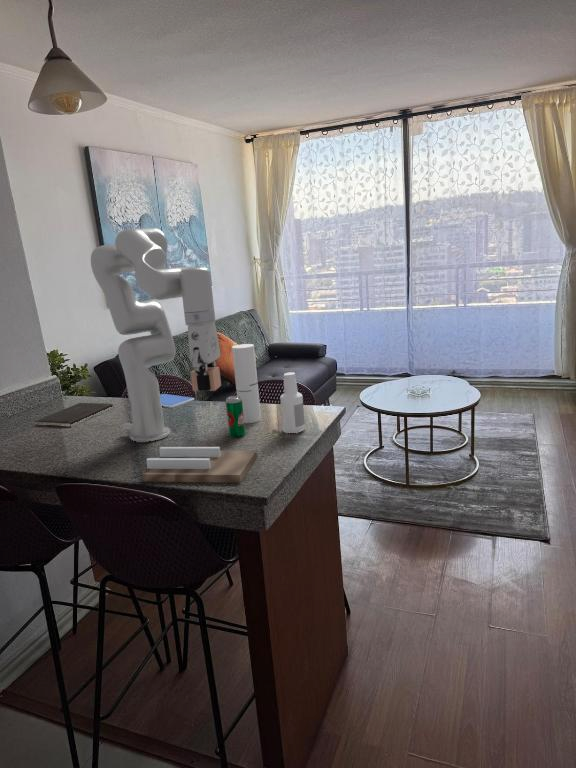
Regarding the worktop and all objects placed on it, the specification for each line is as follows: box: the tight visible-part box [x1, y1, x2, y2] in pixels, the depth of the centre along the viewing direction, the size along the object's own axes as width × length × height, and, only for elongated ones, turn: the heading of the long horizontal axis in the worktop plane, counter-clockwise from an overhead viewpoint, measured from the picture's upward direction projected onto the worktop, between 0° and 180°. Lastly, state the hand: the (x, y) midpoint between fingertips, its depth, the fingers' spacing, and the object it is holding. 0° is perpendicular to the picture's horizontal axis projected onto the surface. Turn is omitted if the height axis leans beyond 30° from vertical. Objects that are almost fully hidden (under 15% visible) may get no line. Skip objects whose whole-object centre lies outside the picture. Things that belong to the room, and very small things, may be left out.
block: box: [190, 366, 222, 392], centre depth 143 cm, size 6×5×5 cm
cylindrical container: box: [231, 343, 262, 424], centre depth 180 cm, size 7×7×25 cm
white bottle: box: [279, 371, 306, 435], centre depth 167 cm, size 7×7×18 cm
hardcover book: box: [35, 402, 114, 425], centre depth 205 cm, size 16×23×2 cm
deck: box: [141, 450, 258, 484], centre depth 145 cm, size 26×16×2 cm, turn 78°
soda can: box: [225, 395, 246, 439], centre depth 168 cm, size 5×5×12 cm
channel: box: [146, 446, 221, 469], centre depth 145 cm, size 17×9×2 cm, turn 78°
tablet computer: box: [160, 393, 195, 409], centre depth 216 cm, size 19×13×1 cm, turn 53°
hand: (208, 386), depth 143 cm, fingers closed on block, 5 cm apart
